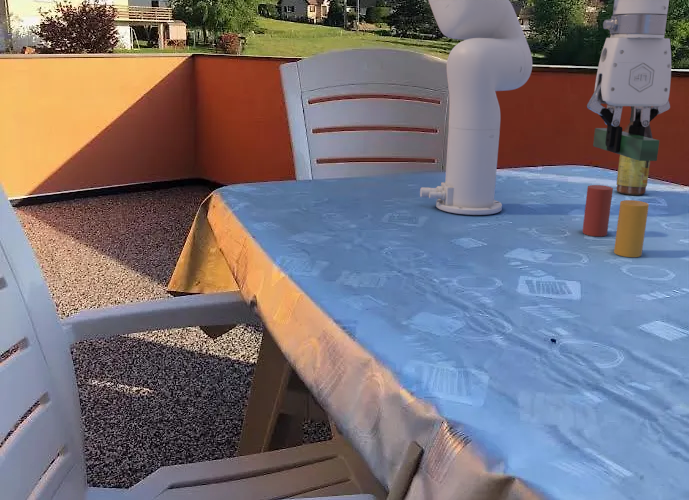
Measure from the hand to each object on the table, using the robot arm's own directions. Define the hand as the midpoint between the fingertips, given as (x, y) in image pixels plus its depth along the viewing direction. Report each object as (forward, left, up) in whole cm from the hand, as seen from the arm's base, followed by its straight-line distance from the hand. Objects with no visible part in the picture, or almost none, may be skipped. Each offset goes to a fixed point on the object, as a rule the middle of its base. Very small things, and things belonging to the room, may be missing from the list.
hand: (623, 150), depth 111 cm
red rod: (0, +6, -15) cm, 16 cm away
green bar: (0, 0, 0) cm, 0 cm away
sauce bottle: (+23, +40, -15) cm, 49 cm away
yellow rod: (0, -6, -15) cm, 16 cm away
